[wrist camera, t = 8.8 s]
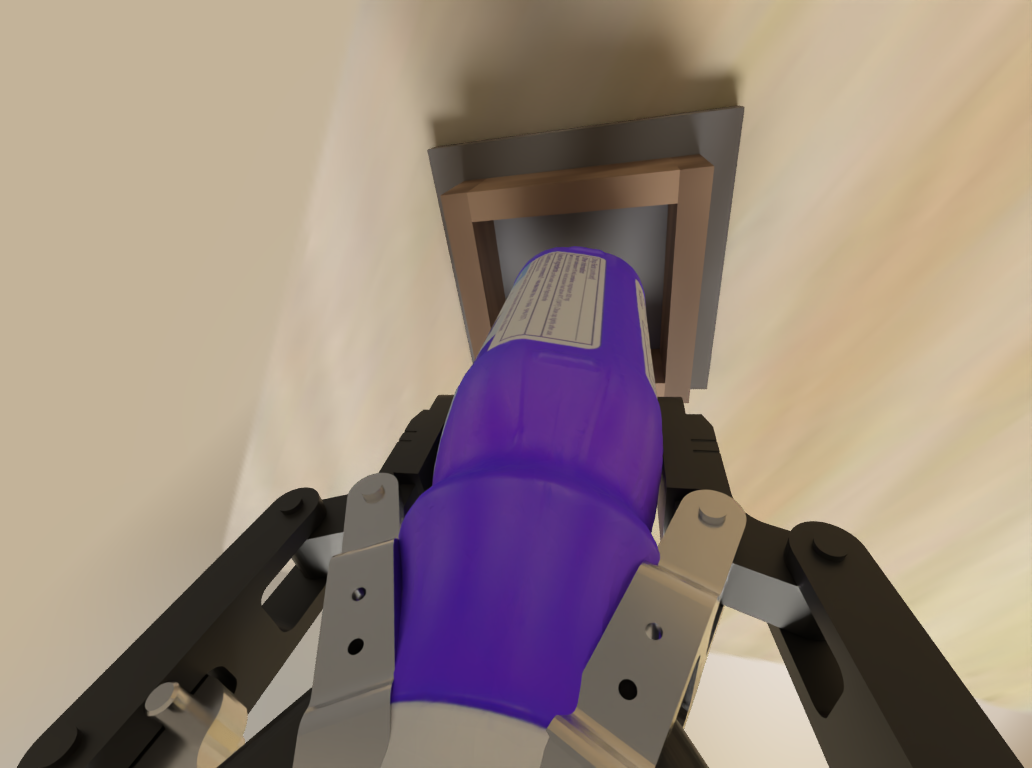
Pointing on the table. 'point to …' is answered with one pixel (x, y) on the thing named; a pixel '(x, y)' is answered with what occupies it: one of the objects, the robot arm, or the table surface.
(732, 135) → the open box
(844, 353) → the table surface
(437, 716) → the bottle
